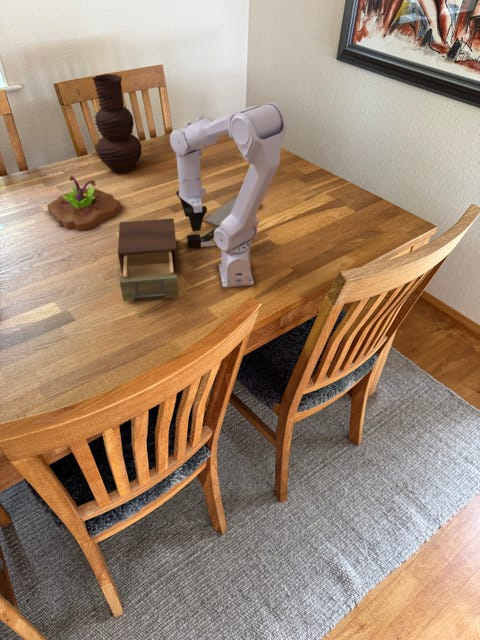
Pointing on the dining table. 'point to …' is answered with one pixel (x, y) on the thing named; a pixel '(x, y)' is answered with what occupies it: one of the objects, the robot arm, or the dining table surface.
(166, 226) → the cabinet
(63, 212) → the plant
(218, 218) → the cleaver
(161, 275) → the drawer
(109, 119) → the vase
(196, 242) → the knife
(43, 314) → the dining table surface
